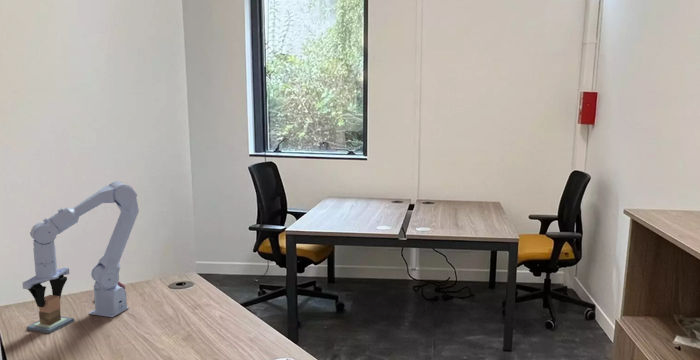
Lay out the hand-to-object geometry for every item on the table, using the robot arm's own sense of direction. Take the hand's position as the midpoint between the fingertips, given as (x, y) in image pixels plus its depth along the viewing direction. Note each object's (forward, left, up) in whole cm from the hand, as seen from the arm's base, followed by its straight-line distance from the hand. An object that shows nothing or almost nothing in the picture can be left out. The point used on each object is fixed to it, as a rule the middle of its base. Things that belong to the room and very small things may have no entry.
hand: (49, 303), depth 151 cm
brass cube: (0, 0, -6) cm, 6 cm away
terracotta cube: (0, 0, -2) cm, 2 cm away
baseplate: (0, 0, -7) cm, 7 cm away
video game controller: (0, -27, -8) cm, 28 cm away
